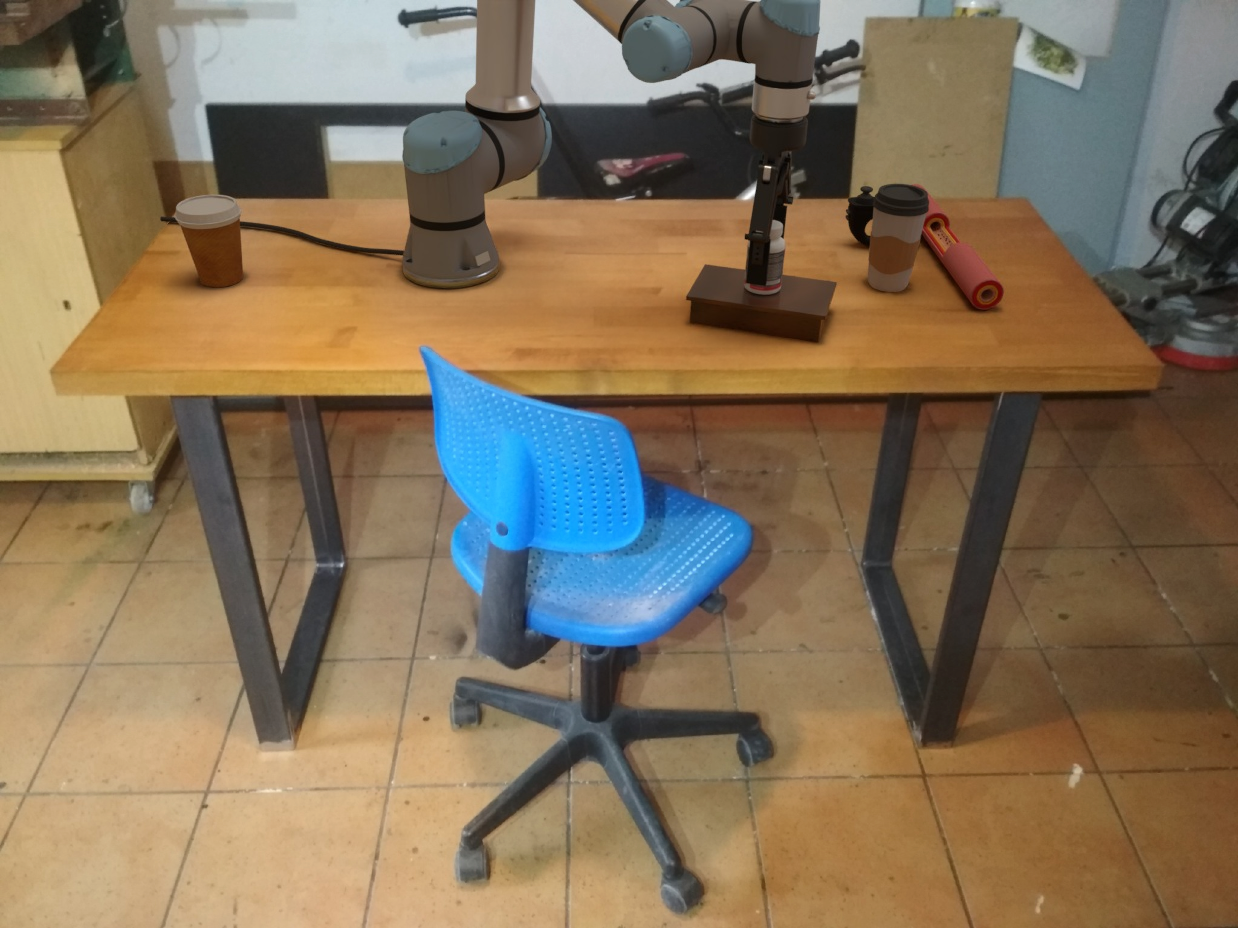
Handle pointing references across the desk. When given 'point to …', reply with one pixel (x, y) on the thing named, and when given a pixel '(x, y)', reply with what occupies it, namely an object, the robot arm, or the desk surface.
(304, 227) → the desk surface
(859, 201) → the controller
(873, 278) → the coffee cup
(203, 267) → the disposable coffee cup
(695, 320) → the stand
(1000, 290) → the blood vessel
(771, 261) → the pill bottle
